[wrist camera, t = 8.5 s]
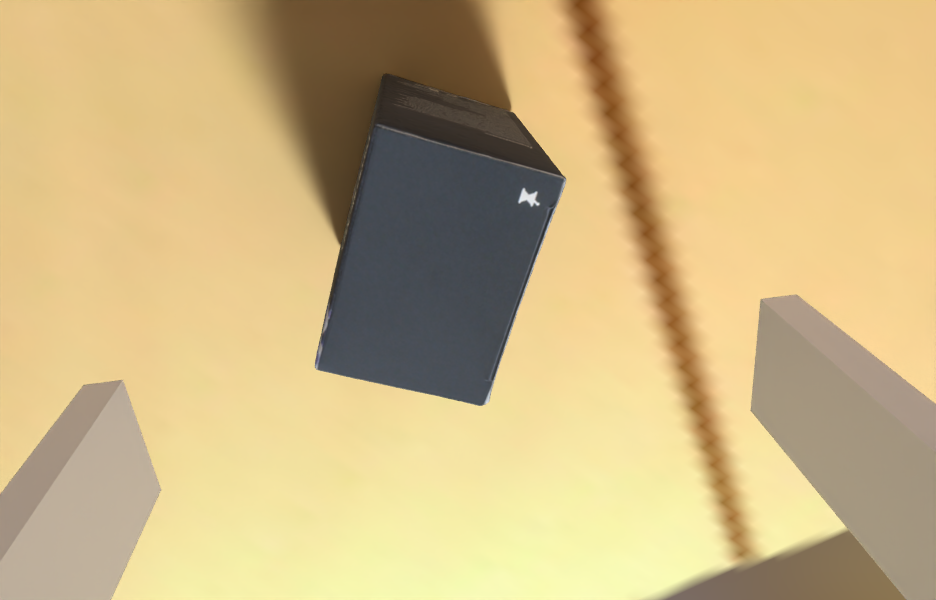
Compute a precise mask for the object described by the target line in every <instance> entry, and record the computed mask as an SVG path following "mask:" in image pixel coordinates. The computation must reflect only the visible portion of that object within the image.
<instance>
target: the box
mask: <svg viewBox="0 0 936 600" xmlns="http://www.w3.org/2000/svg"><path fill="white" fill-rule="evenodd" d="M565 183H566V178H565V177H564V176H563V175H562V174H561V172H560V171H559V170H558V168H557V167H556V166H555V165H554V164H553V162H552V161H551V159H550V158H549V156H548V155H547V154H546V153H545V152H544V150H543V149H542V148H541V147H540V145H539V144H538V143H537V142H536V140H535V139H534V138H533V136H532V135H531V134H530V133H529V131H528V130H527V129H526V127H525V126H524V125H523V124H522V122H521V121H520V120H519V119H518V118H517V116H516V115H515V114H514V113H513V112H510V111H507V110H504V109H501V108H497V107H494V106H491V105H488V104H485V103H481V102H478V101H476V100H471V99H469V98H466V97H461V96H457V95H454V94H451V93H448V92H445V91H442V90H439V89H435V88H432V87H429V86H425V85H422V84H418V83H415V82H412V81H409V80H406V79H402V78H400V77H396V76H394V75H390V74H384V75H383V76H382V79H381V84H380V88H379V92H378V96H377V100H376V104H375V108H374V112H373V116H372V119H371V124H370V128H369V132H368V136H367V140H366V144H365V148H364V152H363V156H362V160H361V164H360V168H359V172H358V176H357V180H356V184H355V188H354V192H353V197H352V201H351V205H350V209H349V214H348V218H347V222H346V226H345V230H344V235H343V239H342V243H341V247H340V252H339V256H338V261H337V265H336V269H335V273H334V278H333V283H332V288H331V292H330V296H329V301H328V305H327V309H326V314H325V319H324V323H323V328H322V333H321V337H320V341H319V346H318V350H317V356H316V361H315V368H316V369H317V370H320V371H324V372H329V373H333V374H338V375H342V376H346V377H351V378H355V379H360V380H365V381H369V382H374V383H379V384H384V385H388V386H392V387H396V388H402V389H406V390H411V391H416V392H421V393H425V394H430V395H435V396H440V397H444V398H448V399H453V400H457V401H463V402H466V403H470V404H474V405H478V406H482V405H485V404H487V403H488V402H489V400H490V395H491V391H492V387H493V384H494V380H495V377H496V374H497V371H498V368H499V365H500V362H501V358H502V355H503V353H504V350H505V347H506V345H507V342H508V339H509V336H510V333H511V330H512V327H513V324H514V321H515V318H516V315H517V312H518V309H519V306H520V304H521V301H522V298H523V296H524V293H525V290H526V287H527V285H528V282H529V279H530V276H531V274H532V271H533V268H534V265H535V262H536V259H537V256H538V254H539V251H540V249H541V246H542V244H543V241H544V238H545V235H546V233H547V230H548V227H549V225H550V222H551V220H552V217H553V214H554V212H555V209H556V206H557V204H558V202H559V200H560V197H561V195H562V192H563V189H564V187H565Z"/></svg>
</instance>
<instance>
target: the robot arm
mask: <svg viewBox="0 0 936 600" xmlns="http://www.w3.org/2000/svg"><path fill="white" fill-rule="evenodd" d="M751 412H752V413H753V414H754V415H755V416H756V418H757V419H758V420H759V421H760V423H761V424H762V425H763V426H764V427H765V429H766V430H767V431H768V432H769V433H770V435H771V436H772V437H773V438H774V440H775V441H776V442H777V443H778V444H779V446H780V447H781V448H782V449H783V450H784V452H785V453H786V454H787V455H788V457H789V458H790V459H791V460H792V461H793V463H794V464H795V465H796V466H797V467H798V469H799V470H800V471H801V472H802V474H803V475H804V476H805V477H806V478H807V480H808V481H809V482H810V483H811V484H812V486H813V487H814V488H815V489H816V491H817V492H818V493H819V494H820V495H821V497H822V498H823V499H824V500H825V501H826V503H827V504H828V505H829V506H830V508H831V509H832V510H833V511H834V512H835V514H836V515H837V516H838V517H839V518H840V520H841V521H842V522H843V523H844V525H845V526H846V527H847V528H848V529H849V531H850V532H851V533H852V534H853V536H854V537H855V538H856V539H857V540H858V542H859V543H860V544H861V545H862V546H863V547H864V549H865V550H866V551H867V553H868V554H869V555H870V556H871V557H872V559H873V560H874V561H875V562H876V563H877V565H878V566H879V567H880V568H881V569H882V571H883V572H884V573H885V574H886V576H888V578H889V579H890V580H891V581H892V583H893V584H894V585H895V587H896V588H897V589H898V590H899V591H900V593H901V594H902V595H903V596H904V597H905V599H906V600H936V404H935V403H934V402H932V401H931V400H930V399H929V398H927V397H926V396H925V395H924V394H922V393H921V392H920V391H918V390H917V389H916V388H915V387H913V386H912V385H911V384H910V383H908V382H907V381H906V380H904V379H903V378H902V377H901V376H899V375H898V374H897V373H896V372H894V371H893V370H892V369H891V368H889V367H888V366H887V365H885V364H884V363H883V362H882V361H880V360H879V359H878V358H877V357H875V356H874V355H873V354H871V353H870V352H869V351H868V350H866V349H865V348H864V347H863V346H861V345H860V344H859V343H857V342H856V341H855V340H854V339H852V338H851V337H850V336H849V335H847V334H846V333H845V332H844V331H842V330H841V329H840V328H838V327H837V326H836V325H835V324H833V323H832V322H831V321H830V320H828V319H827V318H826V317H824V316H823V315H822V314H821V313H819V312H818V311H817V310H816V309H814V308H813V307H812V306H810V305H809V304H808V303H807V302H805V301H804V300H803V299H802V298H800V297H799V296H798V295H789V296H781V297H773V298H765V299H761V301H760V312H759V323H758V334H757V346H756V357H755V368H754V379H753V390H752V401H751ZM160 491H161V488H160V485H159V482H158V479H157V476H156V474H155V471H154V468H153V465H152V462H151V459H150V456H149V453H148V451H147V448H146V445H145V442H144V439H143V436H142V433H141V430H140V428H139V425H138V422H137V419H136V416H135V413H134V410H133V407H132V405H131V402H130V399H129V396H128V393H127V390H126V387H125V384H124V382H123V380H119V381H111V382H103V383H95V384H87V385H83V387H82V388H81V389H80V390H79V392H78V393H77V394H76V396H75V397H74V398H73V400H72V401H71V402H70V404H69V405H68V406H67V407H66V409H65V410H64V411H63V413H62V414H61V415H60V417H59V418H58V419H57V421H56V422H55V423H54V424H53V426H52V427H51V428H50V430H49V431H48V432H47V434H46V435H45V436H44V438H43V439H42V440H41V442H40V443H39V444H38V445H37V447H36V448H35V449H34V451H33V452H32V453H31V455H30V456H29V457H28V459H27V460H26V461H25V462H24V464H23V465H22V466H21V468H20V469H19V470H18V472H17V473H16V474H15V476H14V477H13V478H12V479H11V481H10V482H9V483H8V485H7V486H6V487H5V489H4V490H3V491H2V493H1V494H0V600H111V599H112V596H113V594H114V592H115V590H116V588H117V585H118V583H119V581H120V579H121V577H122V574H123V572H124V570H125V568H126V566H127V563H128V561H129V559H130V557H131V555H132V553H133V550H134V548H135V546H136V544H137V542H138V539H139V537H140V535H141V533H142V531H143V528H144V526H145V524H146V522H147V520H148V517H149V515H150V513H151V511H152V509H153V506H154V504H155V502H156V500H157V498H158V496H159V493H160Z"/></svg>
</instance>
